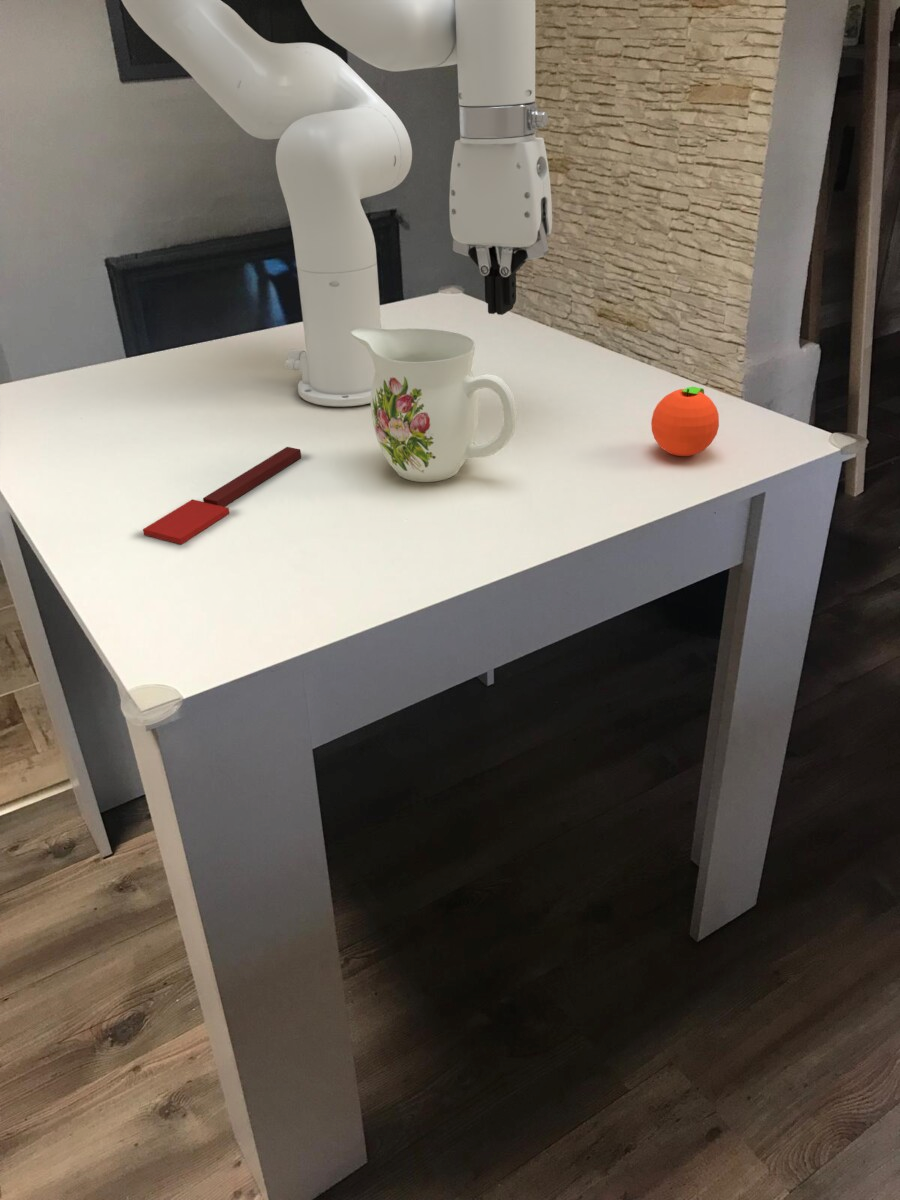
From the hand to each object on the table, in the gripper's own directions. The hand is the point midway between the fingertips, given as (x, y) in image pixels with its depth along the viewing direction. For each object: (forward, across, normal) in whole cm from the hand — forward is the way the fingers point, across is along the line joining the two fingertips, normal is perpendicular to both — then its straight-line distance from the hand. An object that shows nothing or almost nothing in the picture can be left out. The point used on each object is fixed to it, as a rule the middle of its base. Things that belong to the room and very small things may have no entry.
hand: (500, 310), depth 105 cm
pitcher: (+13, +1, +15) cm, 20 cm away
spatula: (+13, +17, +29) cm, 36 cm away
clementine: (+13, -21, 0) cm, 25 cm away
